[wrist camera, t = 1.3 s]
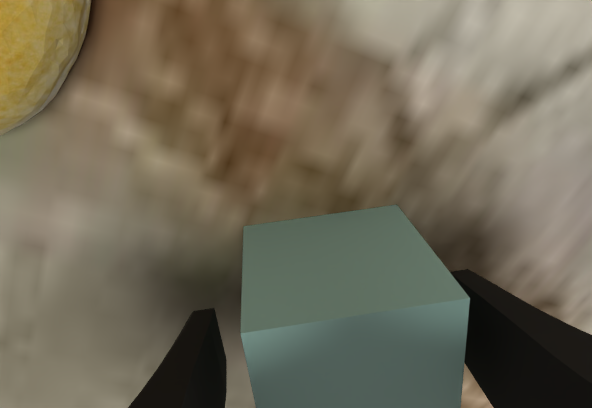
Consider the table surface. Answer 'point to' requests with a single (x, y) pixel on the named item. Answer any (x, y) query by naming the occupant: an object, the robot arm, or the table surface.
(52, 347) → the table surface
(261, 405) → the teal cube
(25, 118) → the bread roll
